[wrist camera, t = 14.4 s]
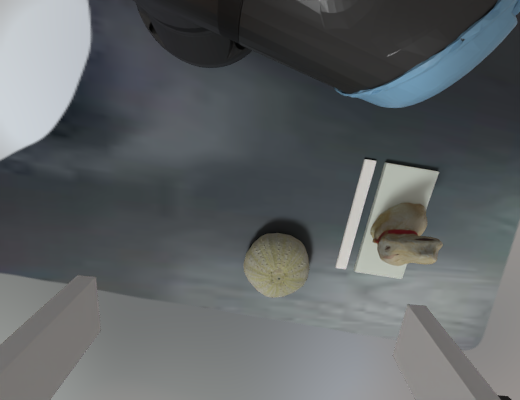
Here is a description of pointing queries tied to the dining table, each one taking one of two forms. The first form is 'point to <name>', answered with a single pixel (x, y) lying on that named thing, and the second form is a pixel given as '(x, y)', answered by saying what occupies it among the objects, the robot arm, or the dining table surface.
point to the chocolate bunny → (404, 236)
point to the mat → (389, 195)
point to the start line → (355, 213)
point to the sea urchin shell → (277, 264)
